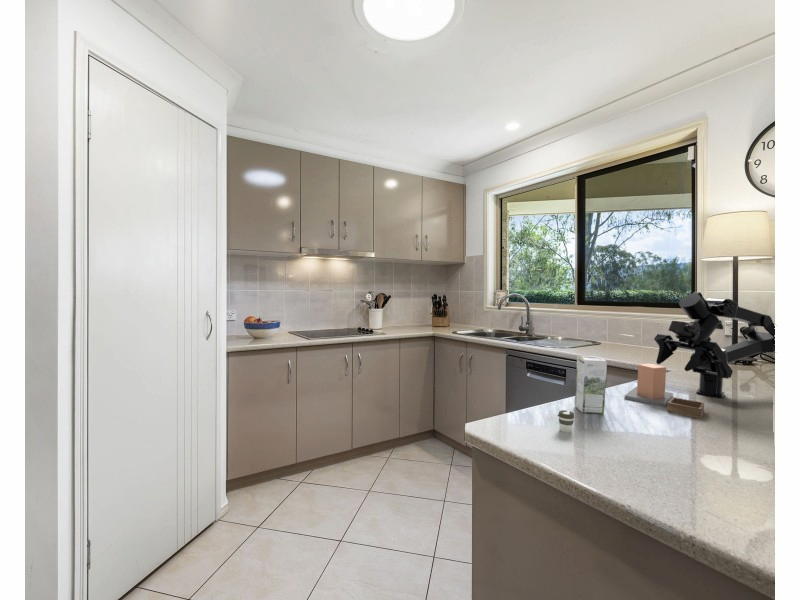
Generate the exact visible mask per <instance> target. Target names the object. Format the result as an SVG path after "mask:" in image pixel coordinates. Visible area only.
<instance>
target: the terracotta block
mask: <svg viewBox="0 0 800 600" xmlns="http://www.w3.org/2000/svg"><path fill="white" fill-rule="evenodd" d="M666 378H667V367H666V366H663V365H660V364H654V363H653V364H652V363H642V364H637V383H636V385H637V386H636V387H637V394H639V395H643V396H646V397H649V398H652V399H653V398H662V397H665V392H666V382H667V381H666V380H667V379H666Z"/></svg>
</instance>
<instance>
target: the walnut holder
mask: <svg viewBox="0 0 800 600" xmlns="http://www.w3.org/2000/svg"><path fill="white" fill-rule="evenodd" d="M666 411H667V413H672V414H677V415H681V416H686V417H691V418H696V419H701V418H702V417H703V415H704V413H705V402H701V401H694V400H690V399H686V398H685V399H684V398H679V397H674V396H673V397H672V398H671V399H670V401H669V402H668V403H667V408H666Z"/></svg>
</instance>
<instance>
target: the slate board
mask: <svg viewBox="0 0 800 600" xmlns="http://www.w3.org/2000/svg"><path fill="white" fill-rule="evenodd" d="M672 397H674V392H668V391H665V397H662V398H653V399H652V398H649V397H646V396H643V395H639V394H637V386H635V387H634V388H633V389H631V390H629V391H628V393H626V394H624V400H628V399H630V401H633V400H635V401H634V402H638V401H640V403H643V402H645V404H648V403H650V404H649V405H653V406H659V407H665V406H666V405H668V402H669V401H670V399H671V398H672Z"/></svg>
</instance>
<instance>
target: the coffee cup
mask: <svg viewBox="0 0 800 600" xmlns="http://www.w3.org/2000/svg"><path fill="white" fill-rule="evenodd" d="M557 417H558V424H559V432H562V433H566V434H569V433H571V432H572V428H573V424H574V418H575V415H574V412H572V411H571V410H570V411H569V410H567V409H566V410H563V409H562V410H559V411H558V414H557Z"/></svg>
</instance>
